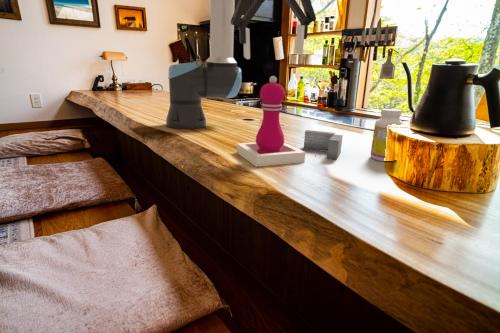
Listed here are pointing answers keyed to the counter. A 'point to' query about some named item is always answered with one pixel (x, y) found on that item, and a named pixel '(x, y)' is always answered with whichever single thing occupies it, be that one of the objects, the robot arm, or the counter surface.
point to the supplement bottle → (383, 132)
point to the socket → (270, 155)
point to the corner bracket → (324, 142)
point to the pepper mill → (271, 118)
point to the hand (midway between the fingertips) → (273, 55)
